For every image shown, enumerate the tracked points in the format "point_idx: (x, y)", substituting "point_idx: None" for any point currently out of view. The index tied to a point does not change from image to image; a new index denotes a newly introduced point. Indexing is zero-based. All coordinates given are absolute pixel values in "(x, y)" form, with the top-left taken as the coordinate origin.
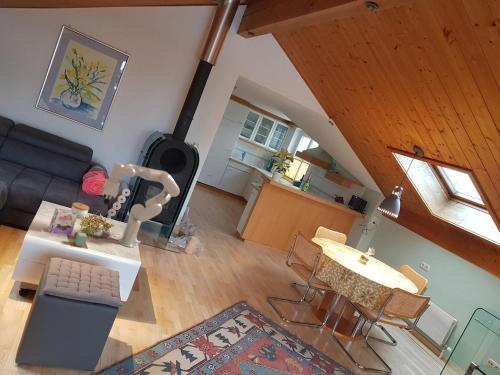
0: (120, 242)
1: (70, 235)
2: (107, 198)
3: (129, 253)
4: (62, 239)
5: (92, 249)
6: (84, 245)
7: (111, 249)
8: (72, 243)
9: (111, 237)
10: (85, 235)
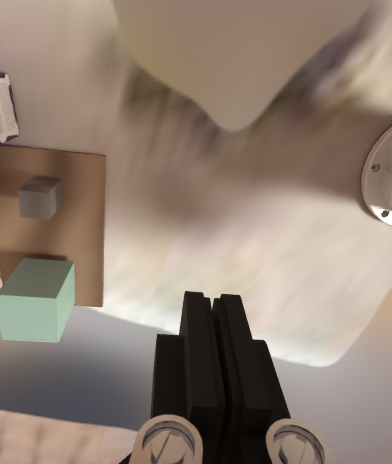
0: (365, 190)
1: (13, 149)
2: (239, 431)
3: (346, 301)
4: None
5: (131, 297)
6: (88, 274)
7: (252, 276)
8: (17, 264)
9: (354, 83)
10: (50, 326)
